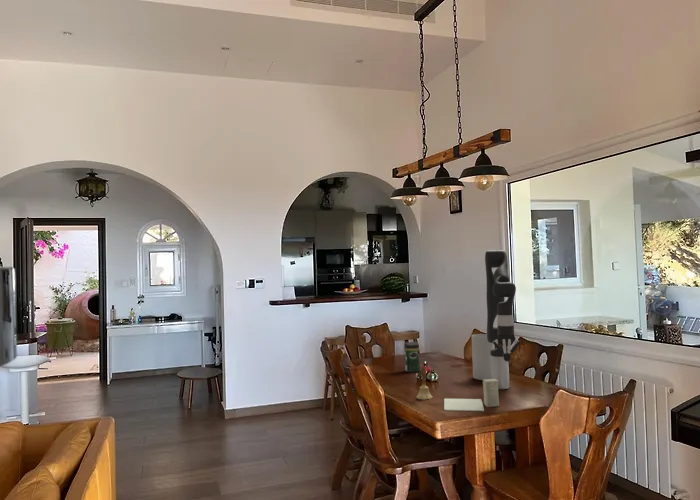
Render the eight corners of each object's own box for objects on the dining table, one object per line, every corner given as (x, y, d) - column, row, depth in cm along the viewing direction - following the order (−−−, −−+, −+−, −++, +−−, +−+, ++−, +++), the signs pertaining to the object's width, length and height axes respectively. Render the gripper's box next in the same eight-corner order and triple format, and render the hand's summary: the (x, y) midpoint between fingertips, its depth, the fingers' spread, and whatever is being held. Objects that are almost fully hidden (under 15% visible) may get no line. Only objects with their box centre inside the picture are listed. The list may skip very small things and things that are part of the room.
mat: (444, 399, 260) (444, 398, 260) (481, 399, 257) (481, 399, 257) (444, 410, 241) (444, 409, 241) (484, 411, 237) (484, 410, 237)
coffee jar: (418, 369, 336) (417, 340, 337) (421, 372, 328) (420, 342, 329) (403, 370, 335) (402, 341, 336) (406, 372, 327) (405, 343, 328)
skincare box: (496, 404, 249) (495, 378, 249) (499, 406, 244) (498, 380, 245) (483, 404, 249) (482, 379, 249) (486, 407, 244) (485, 381, 245)
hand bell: (416, 395, 270) (415, 364, 270) (432, 395, 269) (431, 364, 269) (416, 399, 261) (415, 367, 262) (433, 399, 260) (432, 367, 261)
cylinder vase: (469, 377, 309) (467, 335, 310) (487, 375, 313) (485, 333, 314) (480, 381, 297) (478, 337, 298) (499, 379, 301) (497, 336, 302)
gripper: (519, 323, 249) (520, 359, 248) (490, 323, 251) (491, 359, 251) (521, 325, 241) (522, 362, 241) (491, 325, 244) (493, 362, 243)
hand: (507, 361), depth 246 cm, fingers closed
